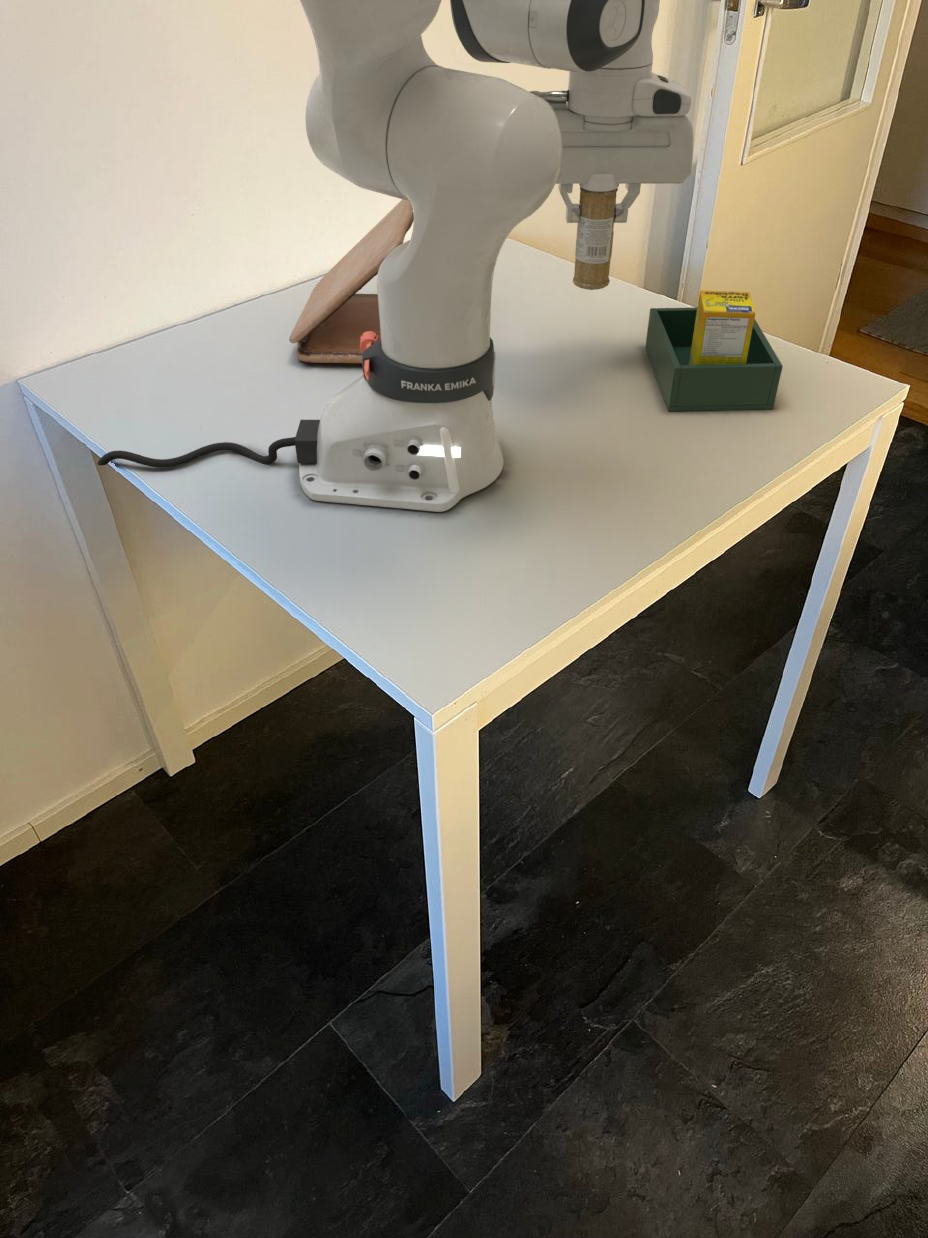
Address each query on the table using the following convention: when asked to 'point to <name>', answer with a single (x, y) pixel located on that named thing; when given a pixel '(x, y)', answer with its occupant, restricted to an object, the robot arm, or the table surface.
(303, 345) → the case
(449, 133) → the robot arm
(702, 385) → the box
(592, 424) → the table surface
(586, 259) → the sprinkles bottle
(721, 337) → the supplement box
